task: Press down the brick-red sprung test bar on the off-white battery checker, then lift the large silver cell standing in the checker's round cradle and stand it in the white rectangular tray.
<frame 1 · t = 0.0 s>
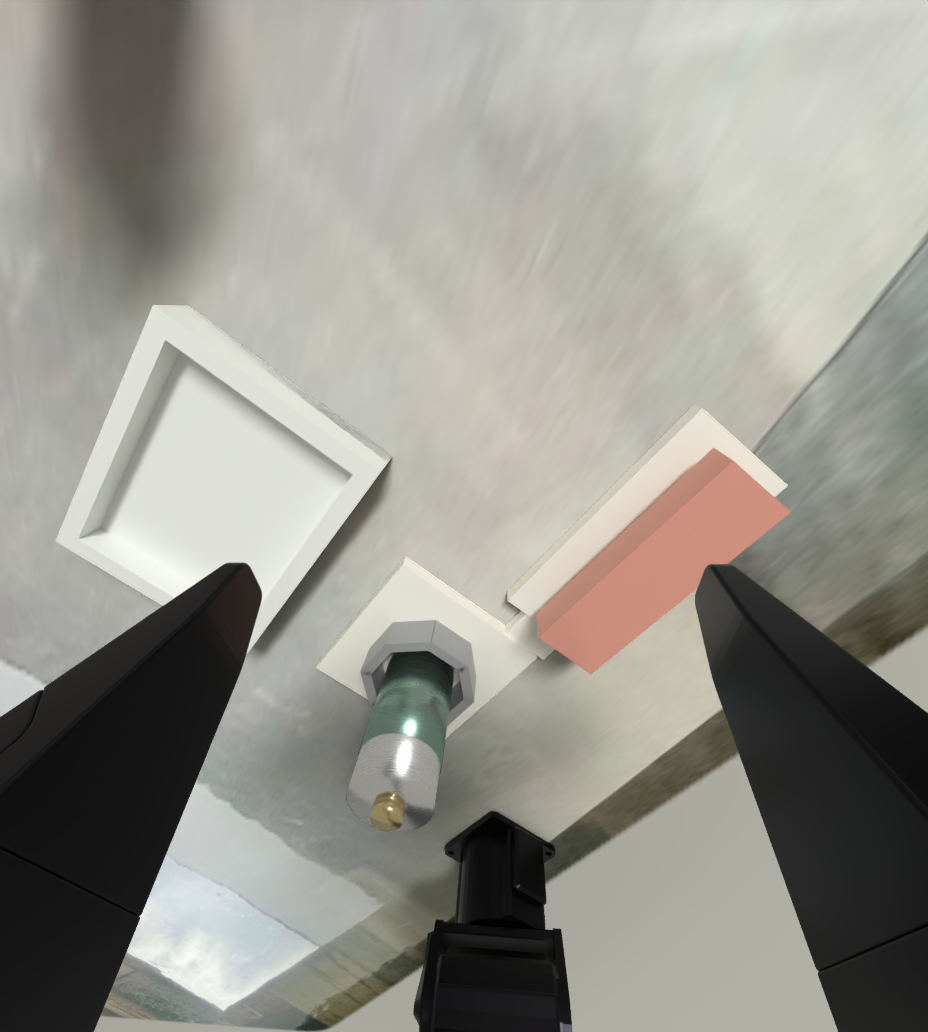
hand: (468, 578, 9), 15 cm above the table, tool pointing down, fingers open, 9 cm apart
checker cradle: (425, 652, 30), on the table
white rectangular tray: (232, 491, 26), on the table
silver cell: (423, 663, 29), point 1 cm above the table, touching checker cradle
test bar: (647, 569, 22), point 3 cm above the table, slide at 0.0 cm
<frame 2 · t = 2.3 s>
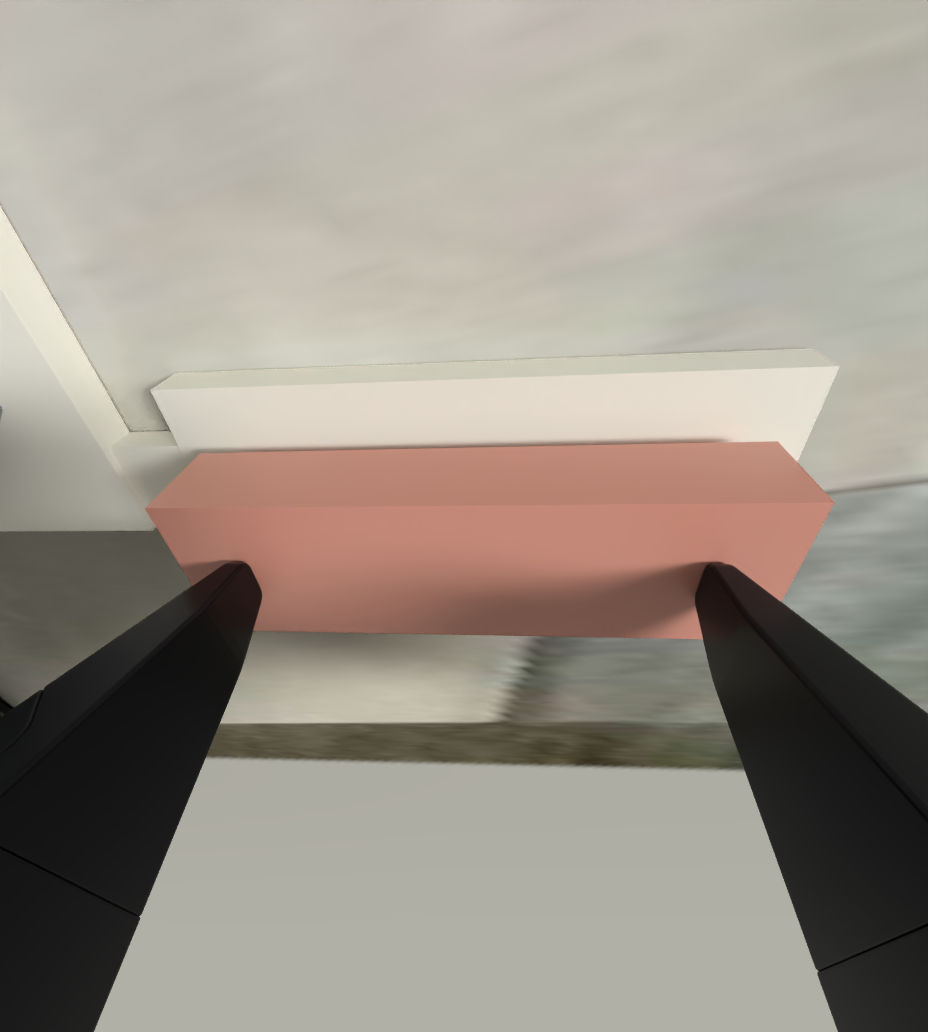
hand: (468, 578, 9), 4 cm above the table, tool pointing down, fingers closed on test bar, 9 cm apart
test bar: (473, 544, 10), point 3 cm above the table, slide at 0.5 cm, touching gripper
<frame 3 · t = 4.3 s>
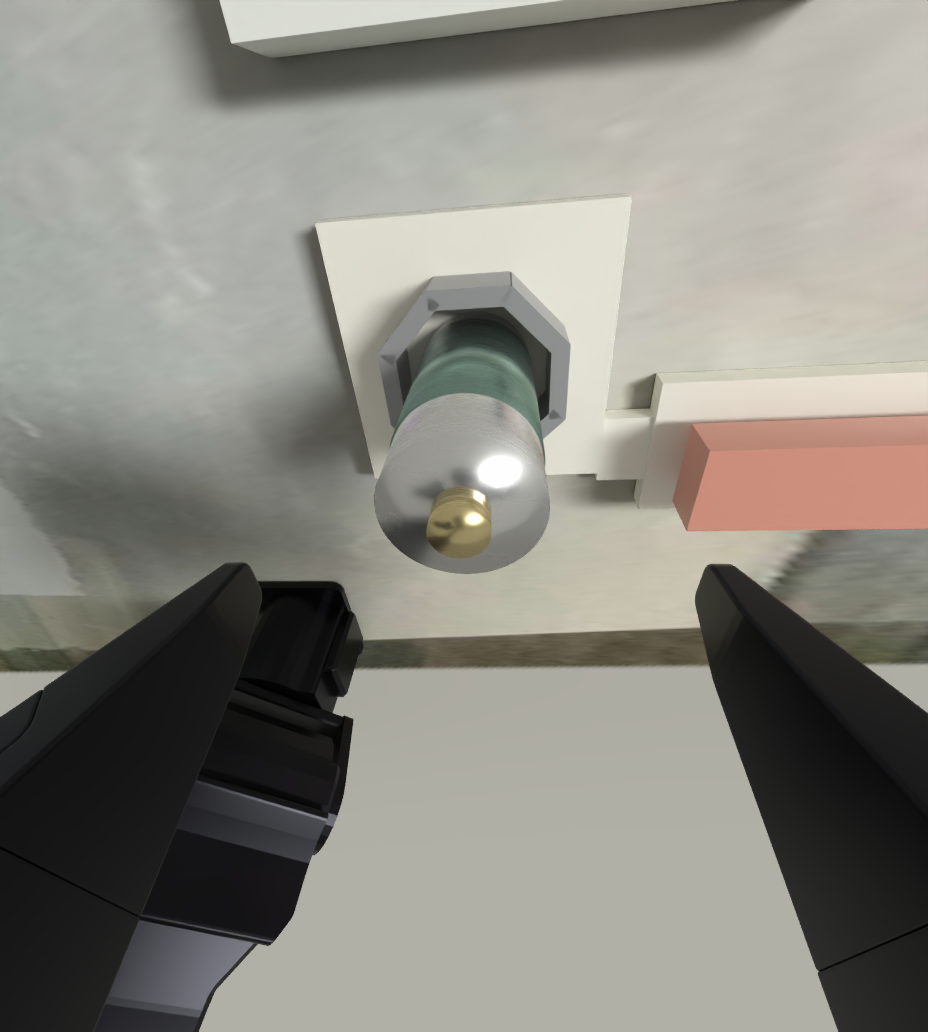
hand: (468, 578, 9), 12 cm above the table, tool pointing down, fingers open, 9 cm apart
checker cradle: (478, 357, 18), on the table
silver cell: (477, 366, 18), point 1 cm above the table, touching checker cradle
test bar: (858, 474, 17), point 3 cm above the table, slide at 0.2 cm
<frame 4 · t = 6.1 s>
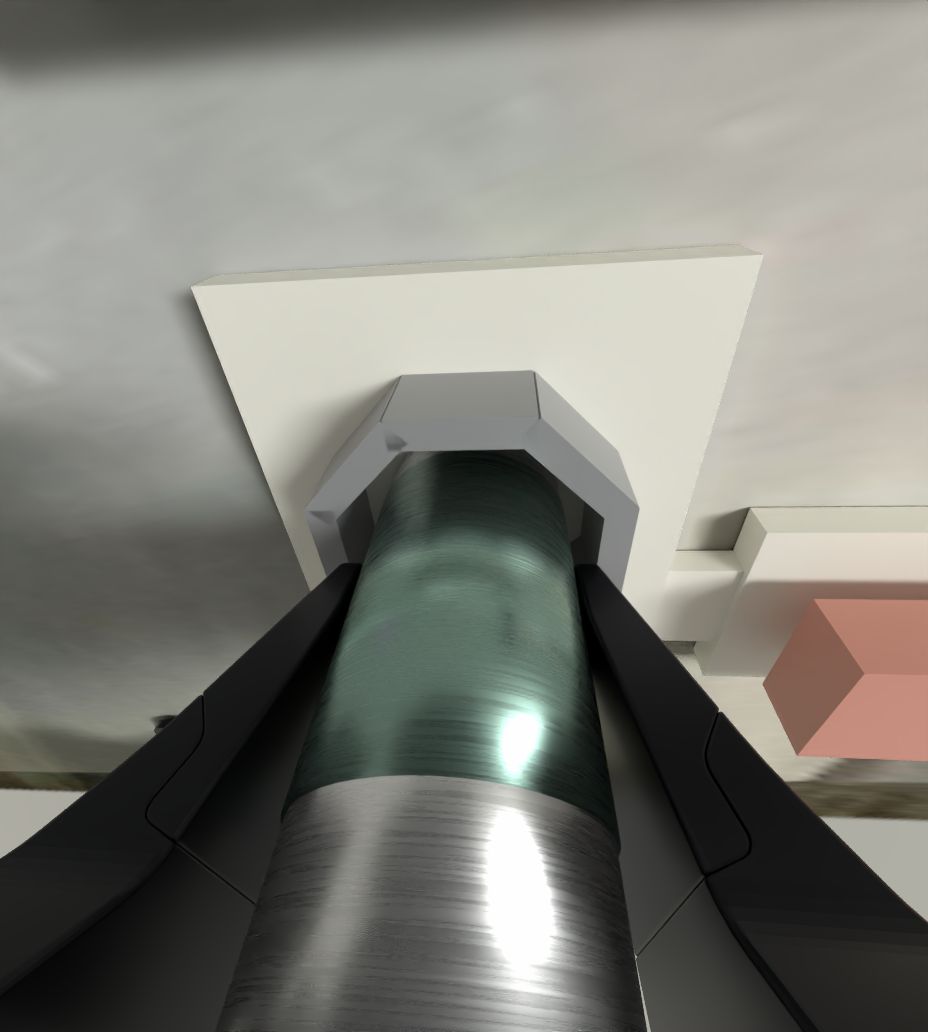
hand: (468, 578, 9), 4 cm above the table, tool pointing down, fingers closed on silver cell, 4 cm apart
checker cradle: (476, 478, 12), on the table
silver cell: (474, 502, 11), point 1 cm above the table, touching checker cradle, gripper
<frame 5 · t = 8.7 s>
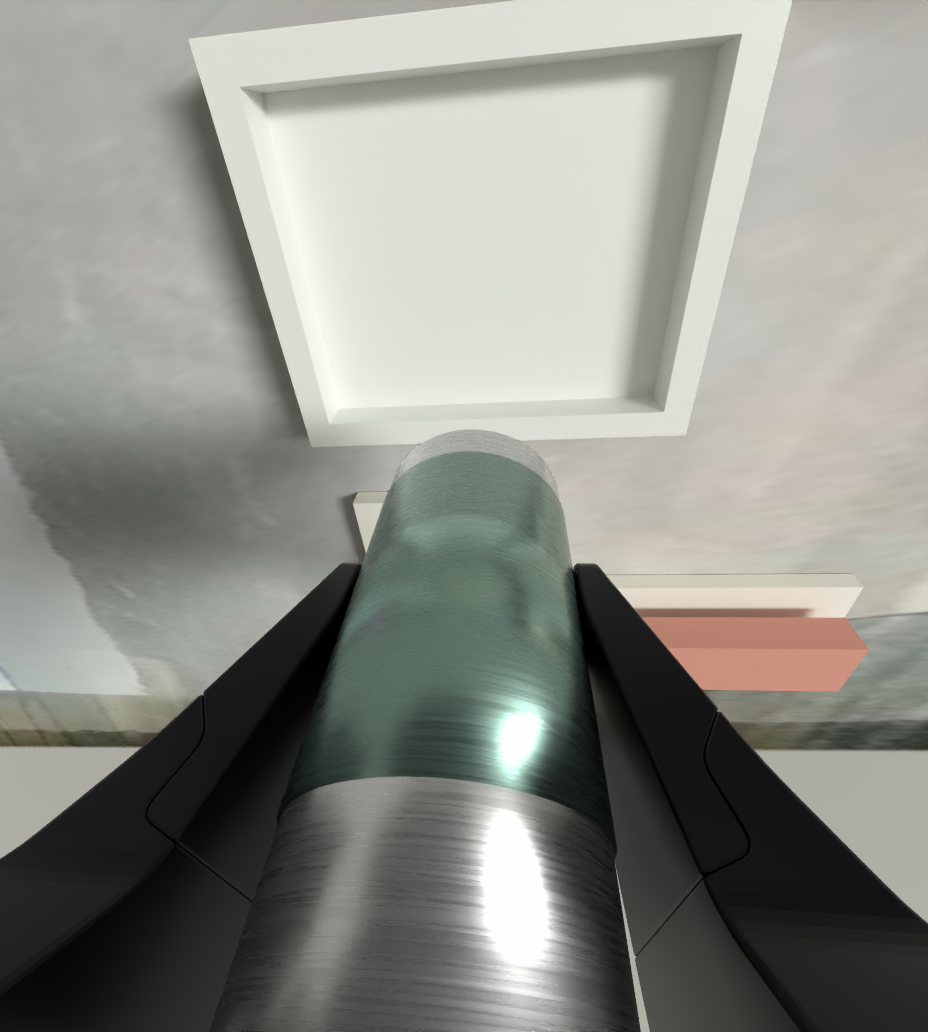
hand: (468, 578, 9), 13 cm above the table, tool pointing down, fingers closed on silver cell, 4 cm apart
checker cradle: (462, 563, 26), on the table
white rectangular tray: (487, 262, 17), on the table
silver cell: (474, 503, 11), point 10 cm above the table, touching gripper
test bar: (722, 653, 25), point 3 cm above the table, slide at 0.2 cm
when the fingers open (4 cm above the table, at t = 11.2 s): silver cell stays where it is, resting on white rectangular tray.
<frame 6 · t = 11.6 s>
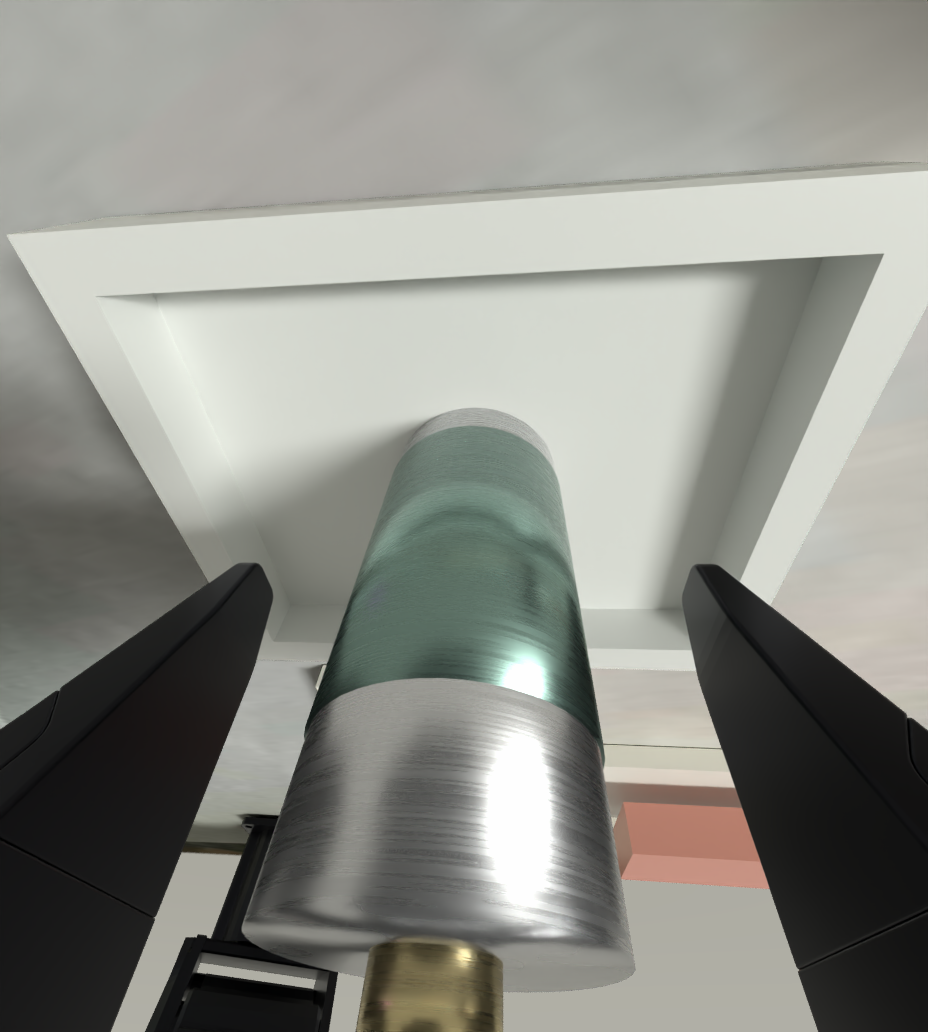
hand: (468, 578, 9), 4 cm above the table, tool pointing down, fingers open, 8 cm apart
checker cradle: (450, 728, 22), on the table
white rectangular tray: (478, 458, 13), on the table
silver cell: (476, 479, 12), point 1 cm above the table, touching white rectangular tray
test bar: (757, 849, 21), point 3 cm above the table, slide at 0.2 cm
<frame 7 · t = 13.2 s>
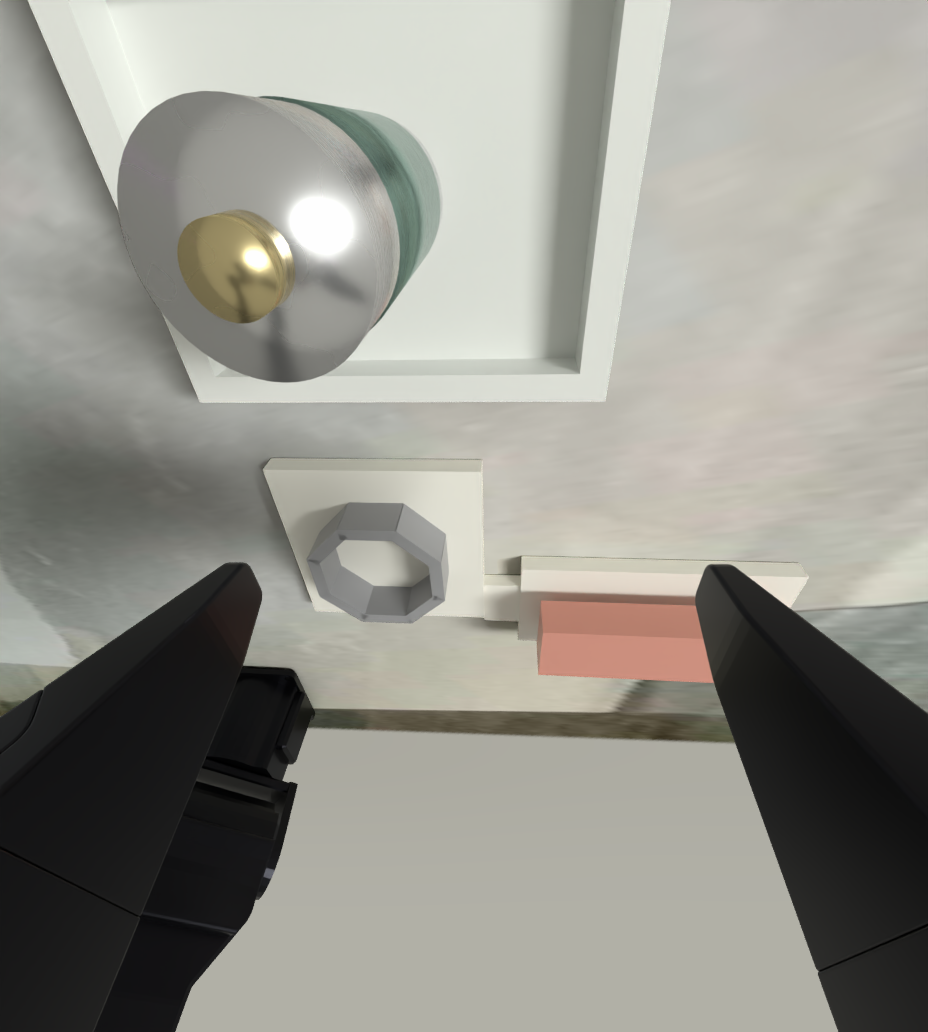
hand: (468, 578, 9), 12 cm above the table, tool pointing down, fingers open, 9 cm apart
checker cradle: (389, 539, 25), on the table
white rectangular tray: (385, 196, 15), on the table
silver cell: (378, 200, 14), point 1 cm above the table, touching white rectangular tray
test bar: (658, 642, 24), point 3 cm above the table, slide at 0.2 cm
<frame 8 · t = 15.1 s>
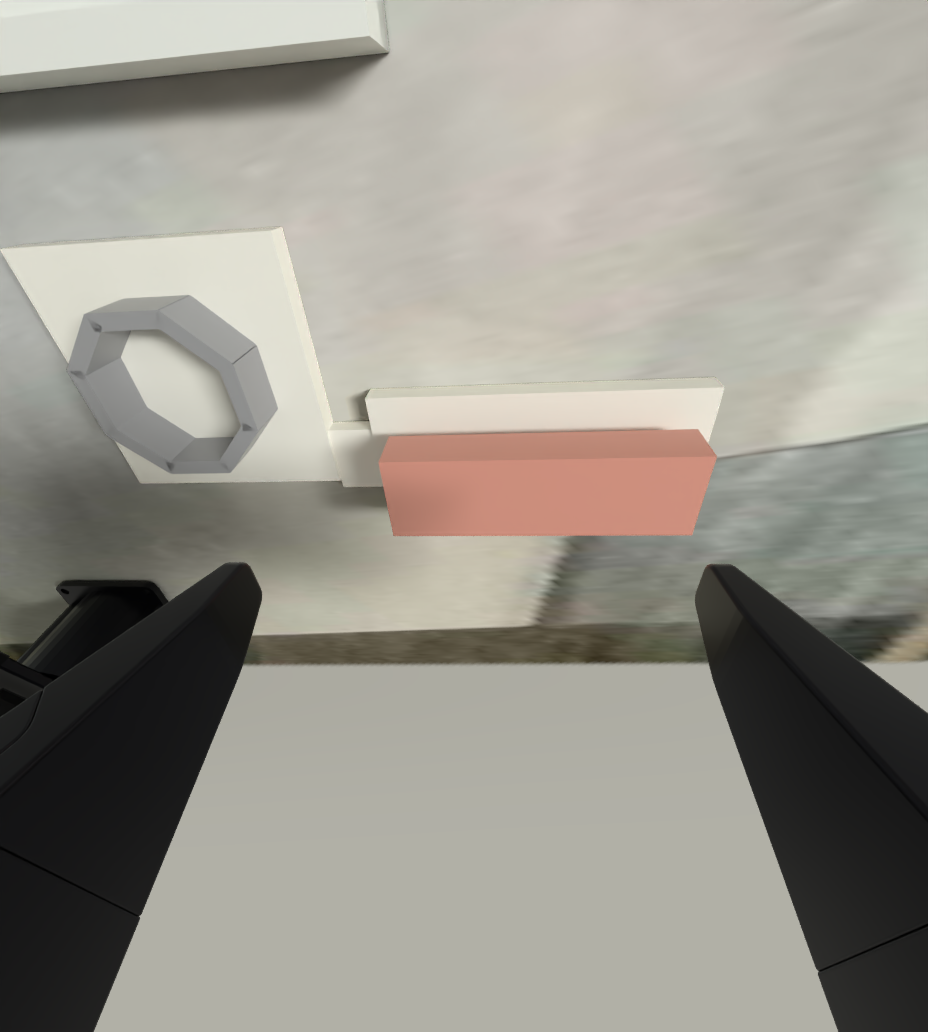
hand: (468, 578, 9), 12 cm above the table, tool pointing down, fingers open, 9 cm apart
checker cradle: (205, 371, 20), on the table
test bar: (538, 485, 18), point 3 cm above the table, slide at 0.2 cm
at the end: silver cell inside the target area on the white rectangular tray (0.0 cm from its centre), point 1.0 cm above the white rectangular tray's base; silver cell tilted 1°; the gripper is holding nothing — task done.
